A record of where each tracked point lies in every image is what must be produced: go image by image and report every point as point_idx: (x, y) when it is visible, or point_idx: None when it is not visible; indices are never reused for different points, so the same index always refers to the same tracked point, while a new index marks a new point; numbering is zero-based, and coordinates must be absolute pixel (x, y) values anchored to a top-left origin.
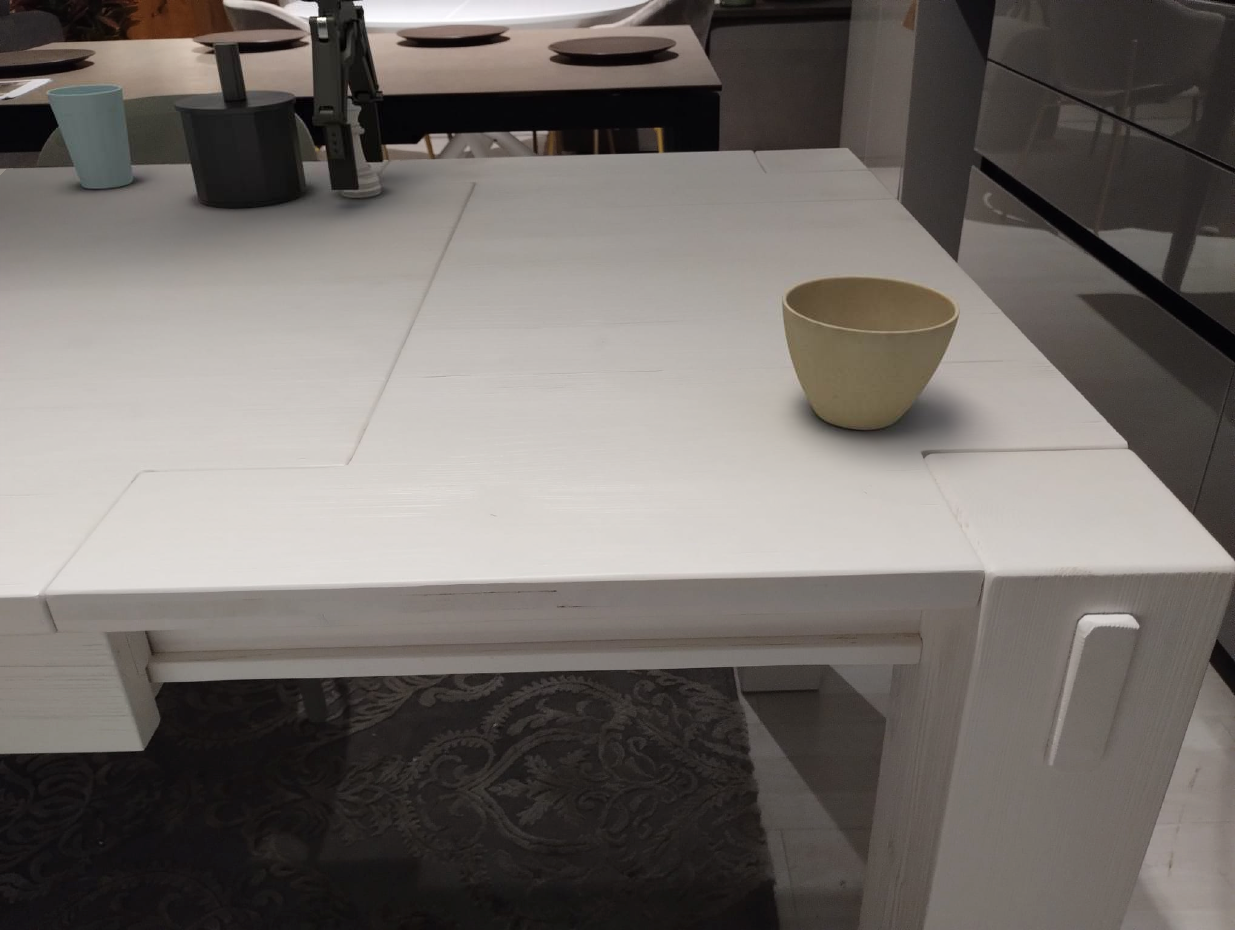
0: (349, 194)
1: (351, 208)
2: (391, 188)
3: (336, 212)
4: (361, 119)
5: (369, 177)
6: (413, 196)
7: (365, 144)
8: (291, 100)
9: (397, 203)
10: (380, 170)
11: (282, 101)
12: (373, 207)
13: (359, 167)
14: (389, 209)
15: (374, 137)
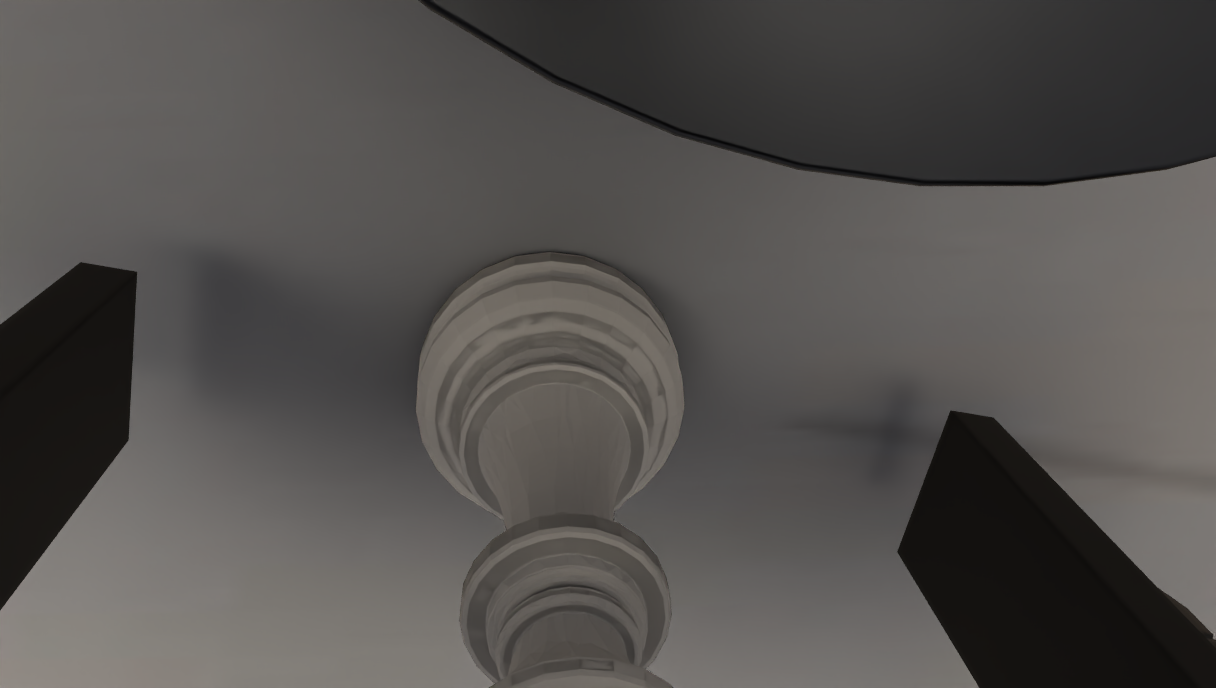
0: (437, 315)
1: (172, 322)
2: (640, 529)
3: (76, 235)
4: (1076, 657)
5: (469, 488)
6: (410, 638)
7: (983, 535)
8: (715, 143)
9: (259, 565)
10: (1145, 462)
11: (502, 4)
12: (180, 445)
13: (478, 470)
14: (119, 528)
15: (976, 632)
